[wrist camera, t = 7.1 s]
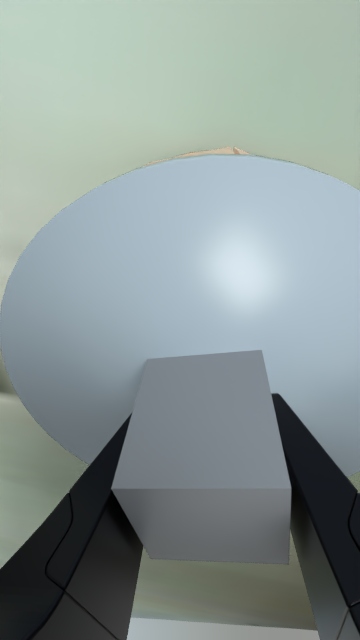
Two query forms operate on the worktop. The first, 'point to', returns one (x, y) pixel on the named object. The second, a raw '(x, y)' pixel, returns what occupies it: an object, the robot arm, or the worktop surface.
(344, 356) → the lid
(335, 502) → the robot arm
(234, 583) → the worktop surface
